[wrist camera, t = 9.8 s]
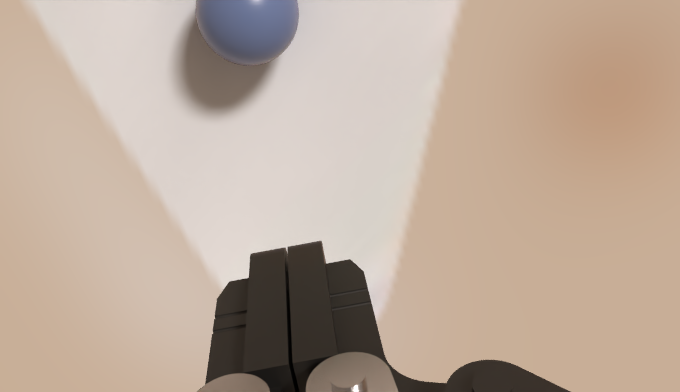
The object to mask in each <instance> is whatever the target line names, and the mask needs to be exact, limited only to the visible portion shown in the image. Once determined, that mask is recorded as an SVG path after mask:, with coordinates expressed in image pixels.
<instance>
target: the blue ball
mask: <svg viewBox="0 0 680 392" xmlns="http://www.w3.org/2000/svg"><path fill="white" fill-rule="evenodd" d="M196 19H197V23H198V27H199V30H200V32H201V34H202V36H203V38H204V40H205V41H206V43H207V44H208V45H209V46H210V48H211V49H212V50H213V51H214V52H215V53H217V54H218V55H219V56H221V57H222V58H224V59H226V60H228V61H230V62H233V63H236V64H240V65H259V64H263V63H266V62H269V61H271V60H273V59H275V58H276V57H278V56H279V55H280V54H282V53H283V52H284V51H285V50H286V48H287V47H288V46H289V45H290V43H291V41H292V40H293V38H294V36H295V33H296V30H297V26H298V19H299V9H298V3H297V0H197V1H196Z"/></svg>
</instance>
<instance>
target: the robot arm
mask: <svg viewBox="0 0 680 392" xmlns="http://www.w3.org/2000/svg"><path fill="white" fill-rule="evenodd" d="M197 392H570V391H568V390H566V389H563V388H561V387H559V386H557V385H555V384H553V383H551V382H549V381H547V380H545V379H543V378H541V377H539V376H537V375H535V374H533V373H531V372H529V371H526V370H524V369H522V368H520V367H518V366H516V365H513V364H511V363H507V362H503V361H498V360H481V361H476V362H471V363H469V364H466V365H464V366H463V367H460V368H459V369H458V370H456V371H455V372H454V373H453V374H452V375H451V376H450V378H449V380H448V381H447V383H433V382H424V381H418V380H414V379H411V378H408V377H406V376H404V375H402V374H400V373H398V372H397V371H396V370H395V369H393V368H392V367H391V366H390V365H389V363H388V362H387V360H386V358H385V355H384V352H383V348H382V344H381V340H380V336H379V332H378V328H377V324H376V320H375V316H374V311H373V307H372V304H371V299H370V295H369V291H368V287H367V283H366V279H365V275H364V271H362V270H361V269H360V268H359V267H358V266H357V265H356V264H355V263H354V262H352V261H351V260H344V261H339V262H333V263H328V264H326V261H325V256H324V251H323V246H322V241H317V242H312V243H306V244H301V245H296V246H290V247H288V254H287V251H286V248H280V249H274V250H269V251H263V252H258V253H252V254H251V255H250V269H249V278H247V279H241V280H236V281H231V282H229V283H228V284H227V286H226V287H225V289H224V290H223V291H222V293H221V294H220V296H219V297H218V298H217V304H216V311H215V319H214V326H213V334H212V340H211V347H210V355H209V362H208V369H207V376H206V383H205V385H204V386H203V387H202V388H200V389H199V390H198V391H197Z"/></svg>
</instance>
